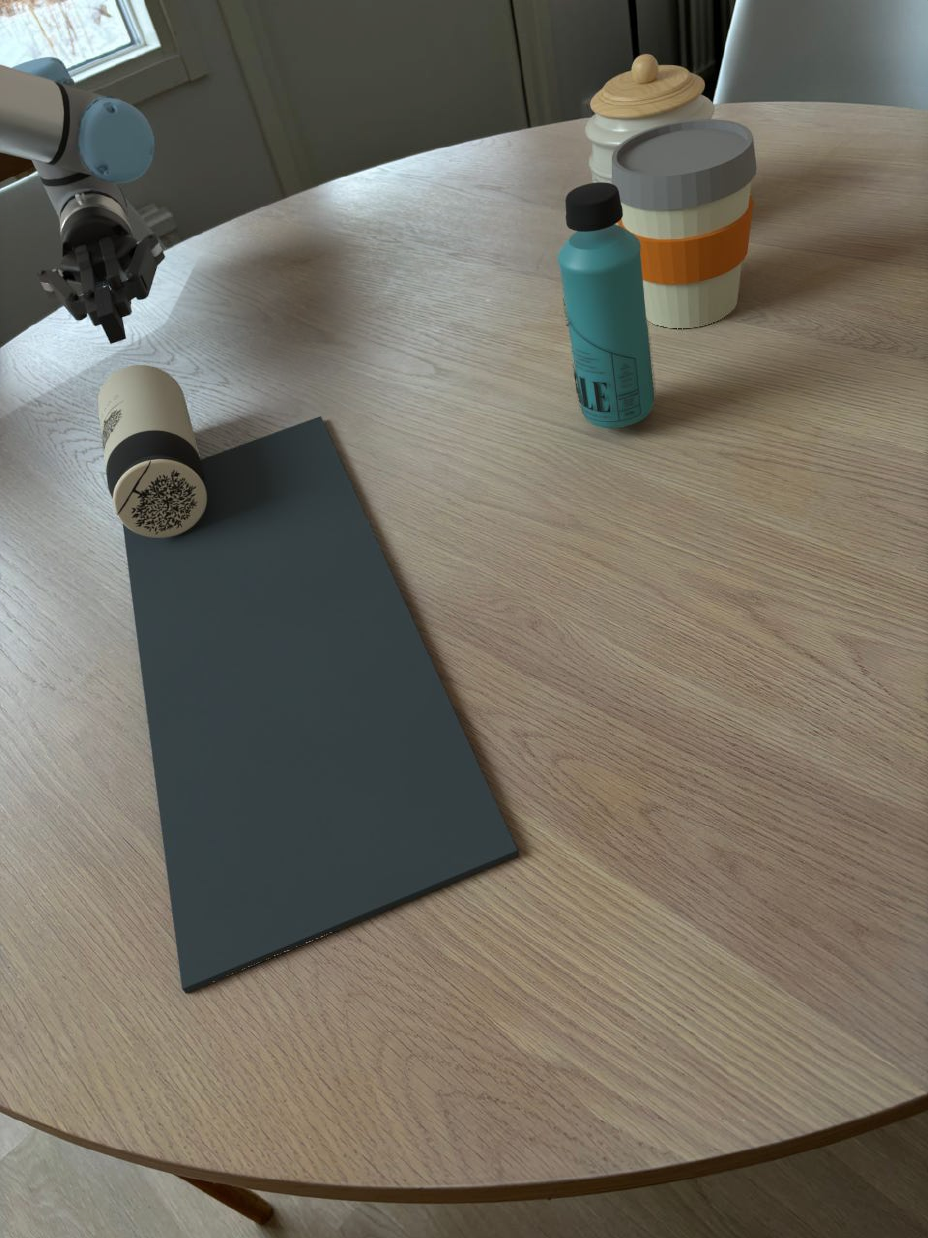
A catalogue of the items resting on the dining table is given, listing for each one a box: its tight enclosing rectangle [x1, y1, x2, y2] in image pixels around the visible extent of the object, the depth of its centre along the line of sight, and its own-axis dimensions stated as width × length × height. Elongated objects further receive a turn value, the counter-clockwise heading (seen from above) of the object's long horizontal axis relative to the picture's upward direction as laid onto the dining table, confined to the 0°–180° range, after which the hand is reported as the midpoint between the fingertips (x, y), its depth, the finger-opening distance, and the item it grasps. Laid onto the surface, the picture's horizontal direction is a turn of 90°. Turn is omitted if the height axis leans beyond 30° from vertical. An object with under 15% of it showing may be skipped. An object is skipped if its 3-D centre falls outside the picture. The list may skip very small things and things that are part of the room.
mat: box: [122, 416, 520, 994], centre depth 76 cm, size 20×53×1 cm, turn 19°
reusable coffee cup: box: [612, 118, 758, 330], centre depth 93 cm, size 13×13×15 cm
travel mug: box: [97, 364, 207, 538], centre depth 90 cm, size 8×8×18 cm
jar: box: [584, 53, 715, 225], centre depth 105 cm, size 13×13×18 cm
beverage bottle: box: [557, 182, 657, 429], centre depth 80 cm, size 6×7×20 cm
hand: (112, 327), depth 92 cm, fingers closed
